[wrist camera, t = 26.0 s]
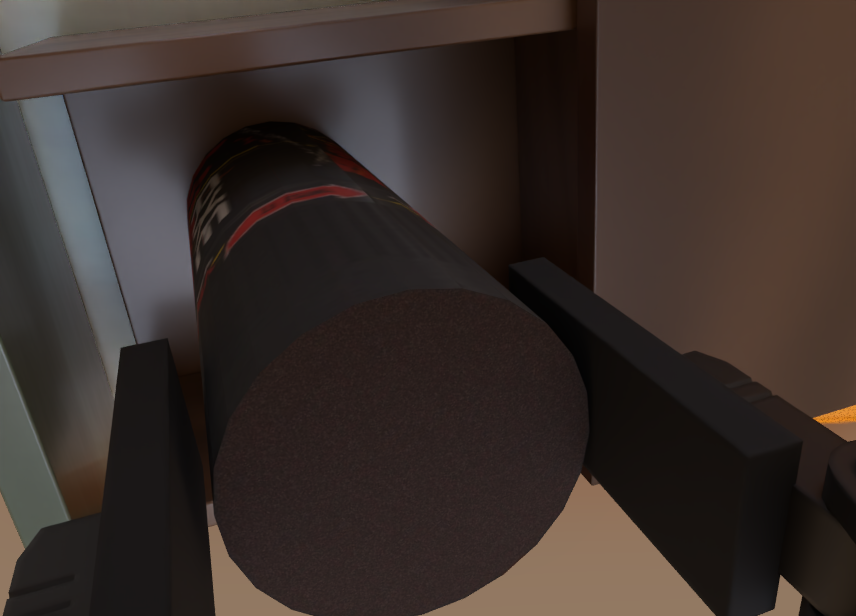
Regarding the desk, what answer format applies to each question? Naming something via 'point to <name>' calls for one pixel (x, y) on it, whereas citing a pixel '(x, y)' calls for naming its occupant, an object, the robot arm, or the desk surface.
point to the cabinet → (725, 182)
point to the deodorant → (366, 387)
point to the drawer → (220, 117)
